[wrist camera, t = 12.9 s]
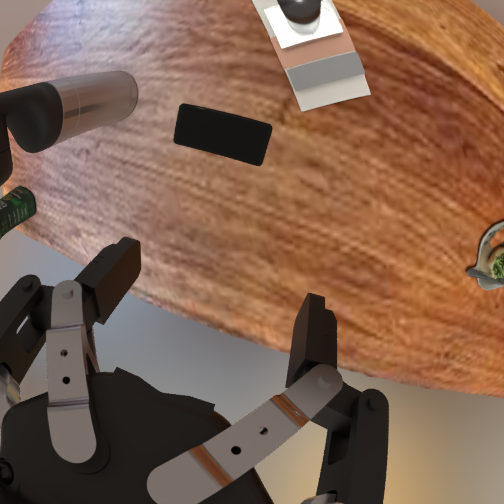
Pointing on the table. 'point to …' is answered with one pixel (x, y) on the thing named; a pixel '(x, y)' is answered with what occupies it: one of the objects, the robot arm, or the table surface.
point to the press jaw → (303, 22)
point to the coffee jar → (15, 209)
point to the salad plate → (489, 262)
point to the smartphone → (222, 133)
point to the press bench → (324, 89)
